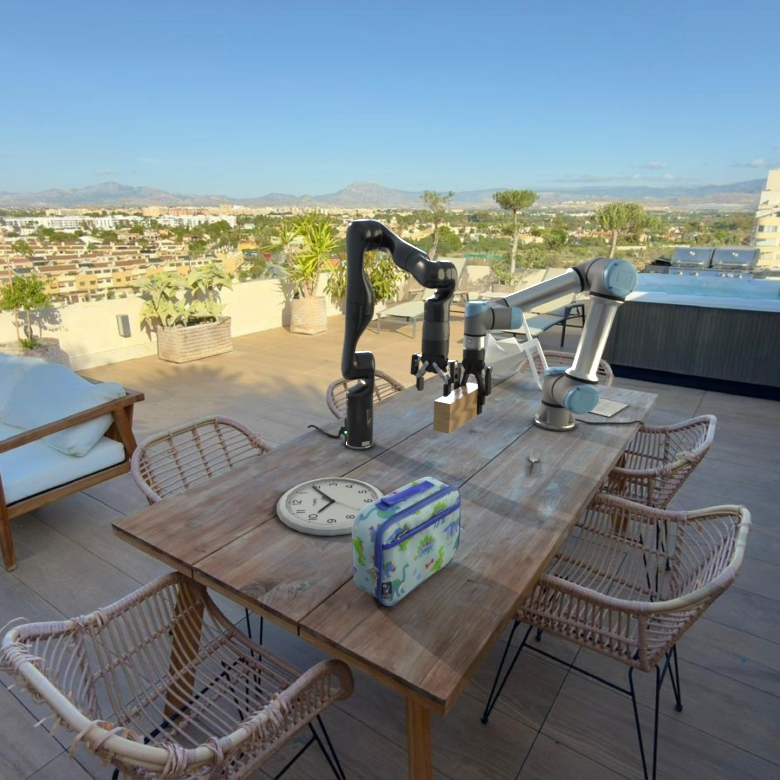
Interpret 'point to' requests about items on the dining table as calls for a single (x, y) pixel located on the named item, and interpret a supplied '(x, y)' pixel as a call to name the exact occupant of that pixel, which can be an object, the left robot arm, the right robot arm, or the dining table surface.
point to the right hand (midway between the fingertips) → (470, 411)
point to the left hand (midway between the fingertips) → (433, 393)
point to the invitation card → (607, 407)
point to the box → (456, 408)
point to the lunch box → (405, 538)
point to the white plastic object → (512, 353)
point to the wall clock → (325, 505)
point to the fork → (533, 461)
